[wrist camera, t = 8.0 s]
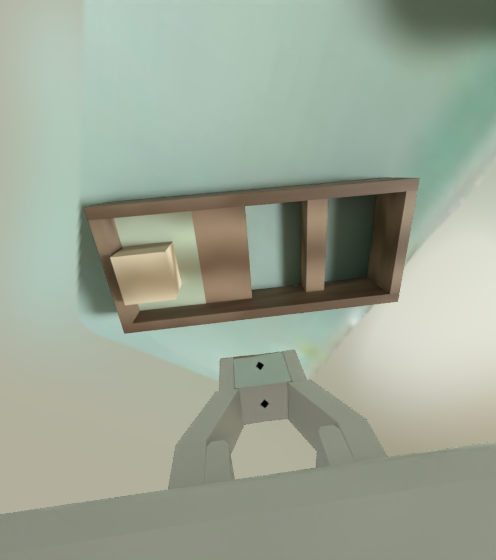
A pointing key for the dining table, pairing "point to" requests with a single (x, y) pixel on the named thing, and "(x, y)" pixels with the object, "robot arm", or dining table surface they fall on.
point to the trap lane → (235, 257)
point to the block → (147, 273)
